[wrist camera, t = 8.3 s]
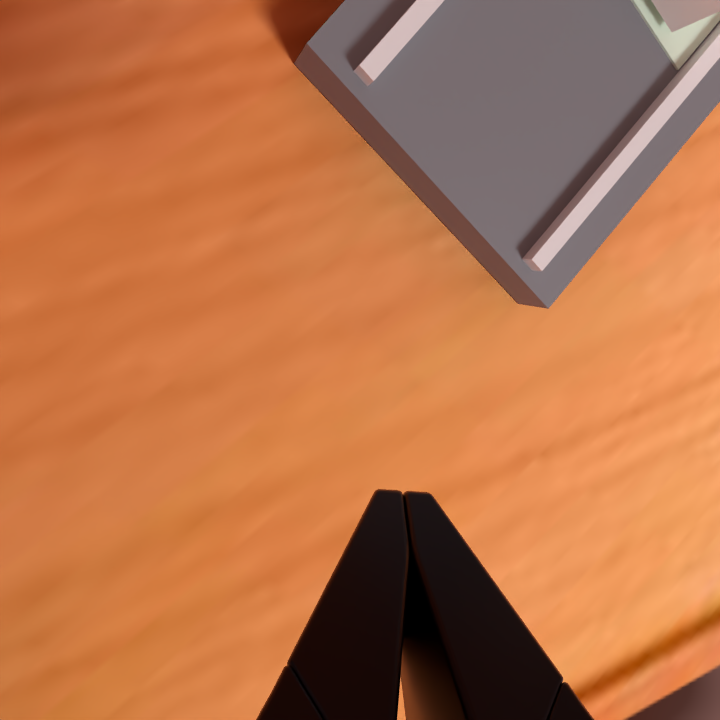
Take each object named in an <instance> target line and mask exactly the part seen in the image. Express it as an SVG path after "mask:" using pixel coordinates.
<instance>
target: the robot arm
mask: <svg viewBox="0 0 720 720" xmlns="http://www.w3.org/2000/svg"><path fill="white" fill-rule="evenodd" d="M400 676H401V682H402V690H403V698H404V707H405V715H406V720H594V719H593V718H592V716H591V715H590V714H589V712H588V711H587V710H586V708H585V707H584V705H583V704H582V703H581V701H580V700H579V699H578V697H577V696H576V694H575V693H574V692H573V690H572V689H571V687H570V686H569V684H568V683H566V682H563V683H562V681H563V677H562V675H561V674H560V672H559V671H558V670H557V668H556V667H555V665H554V664H553V663H552V661H551V660H550V658H549V657H548V656H547V654H546V653H545V651H544V650H543V649H542V647H541V646H540V645H539V643H538V642H537V640H536V639H535V638H534V636H533V635H532V633H531V632H530V631H529V629H528V628H527V626H526V625H525V624H524V622H523V621H522V619H521V618H520V617H519V615H518V614H517V613H516V611H515V610H514V608H513V607H512V606H511V604H510V603H509V601H508V600H507V599H506V597H505V596H504V594H503V593H502V592H501V590H500V589H499V587H498V586H497V585H496V583H495V582H494V581H493V579H492V578H491V576H490V575H489V574H488V572H487V571H486V569H485V568H484V567H483V565H482V564H481V562H480V561H479V560H478V558H477V557H476V555H475V554H474V553H473V551H472V550H471V548H470V547H469V546H468V544H467V543H466V542H465V540H464V539H463V537H462V536H461V535H460V533H459V532H458V530H457V529H456V528H455V526H454V525H453V523H452V522H451V521H450V519H449V518H448V516H447V515H446V514H445V512H444V511H443V510H442V508H441V507H440V505H439V504H438V503H437V501H436V500H435V498H434V497H433V496H432V495H431V494H430V493H427V492H415V491H406V492H405V493H404V494H402V492H401V491H398V490H385V489H378V490H376V491H375V492H374V494H373V496H372V498H371V500H370V502H369V504H368V505H367V507H366V509H365V511H364V513H363V515H362V517H361V519H360V521H359V523H358V525H357V527H356V529H355V531H354V533H353V535H352V537H351V539H350V541H349V543H348V545H347V547H346V548H345V550H344V552H343V554H342V556H341V558H340V560H339V562H338V564H337V566H336V568H335V570H334V572H333V574H332V576H331V578H330V580H329V582H328V584H327V586H326V588H325V589H324V591H323V593H322V595H321V597H320V599H319V601H318V603H317V605H316V607H315V609H314V611H313V613H312V615H311V617H310V619H309V621H308V623H307V625H306V627H305V629H304V630H303V632H302V634H301V636H300V638H299V640H298V642H297V644H296V646H295V648H294V650H293V652H292V654H291V656H290V658H289V660H288V662H287V666H285V667H284V669H283V671H282V673H281V675H280V677H279V679H278V680H277V682H276V684H275V686H274V688H273V690H272V692H271V694H270V696H269V698H268V699H267V701H266V703H265V705H264V707H263V708H262V710H261V712H260V714H259V716H258V717H257V719H256V720H397V712H398V700H399V688H400Z"/></svg>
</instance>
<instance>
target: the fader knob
mask: <svg viewBox="0 0 720 720" xmlns="http://www.w3.org/2000/svg"><path fill="white" fill-rule="evenodd" d="M651 1H652V2H653V4H654V6H655V7H656V9H657V10H658V12H659V13H660V15H661V16H662V18H663V20H664V21H665V23H666V24H667V26H668V27H669V29H670V31H671V32H674V31H676V30H679V29H681V28H683V27H685V26H688V25H690V24H692V23H694V22H697V21H699V20H701V19H704V18H706V17H708V16H710V15H713V14H715V13H717V12H720V0H651Z"/></svg>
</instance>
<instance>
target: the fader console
mask: <svg viewBox="0 0 720 720" xmlns="http://www.w3.org/2000/svg"><path fill="white" fill-rule="evenodd" d="M294 64H295V65H296V66H297V68H298V69H299V70H300V71H301V72H302V73H303V74H304V75H305V76H306V77H307V78H308V79H309V80H310V81H311V83H312V84H313V85H314V86H315V87H316V88H317V89H318V90H319V91H320V92H321V93H322V94H323V95H324V96H325V97H326V99H327V100H328V101H329V102H330V103H331V104H332V105H333V106H334V107H335V108H336V109H337V110H338V111H339V112H340V114H341V115H342V116H343V117H344V118H345V119H346V120H347V121H348V122H349V123H350V124H351V125H352V126H353V127H354V129H355V130H356V131H357V132H358V133H359V134H360V135H361V136H362V137H363V138H364V139H365V140H366V141H367V142H368V144H369V145H370V146H371V147H372V148H373V149H374V150H375V151H376V152H377V153H378V154H379V155H380V156H381V157H382V158H383V160H384V161H385V162H386V163H387V164H388V165H389V166H390V167H391V168H392V169H393V170H394V171H395V172H396V173H397V175H398V176H399V177H400V178H401V179H402V180H403V181H404V182H405V183H406V184H407V185H408V186H409V187H410V188H411V190H412V191H413V192H414V193H415V194H416V195H417V196H418V197H419V198H420V199H421V200H422V201H423V202H424V203H425V205H426V206H427V207H428V208H429V209H430V210H431V211H432V212H433V213H434V214H435V215H436V216H437V217H438V218H439V220H440V221H441V222H442V223H443V224H444V225H445V226H446V227H447V228H448V229H449V230H450V231H451V232H452V233H453V234H454V236H455V237H456V238H457V239H458V240H459V241H460V242H461V243H462V244H463V245H464V246H465V247H466V248H467V249H468V251H469V252H470V253H471V254H472V255H473V256H474V257H475V258H476V259H477V260H478V261H479V262H480V263H481V264H482V266H483V267H484V268H485V269H486V270H487V271H488V272H489V273H490V274H491V275H492V276H493V277H494V278H495V279H496V281H497V282H498V283H499V284H500V285H501V286H502V287H503V288H504V289H505V290H506V291H507V292H508V293H509V294H510V295H511V297H512V298H513V299H514V300H515V301H516V302H517V303H518V304H523V305H529V306H535V307H542V308H549V307H550V306H551V305H552V304H553V302H554V301H555V300H556V299H557V298H558V296H559V295H560V294H561V293H562V292H563V290H564V289H565V288H566V287H567V286H568V284H569V283H570V282H571V281H572V279H573V278H574V277H575V276H576V275H577V273H578V272H579V271H580V270H581V269H582V267H583V266H584V265H585V264H586V263H587V261H588V260H589V259H590V258H591V256H592V255H593V254H594V253H595V252H596V250H597V249H598V248H599V247H600V246H601V244H602V243H603V242H604V241H605V240H606V238H607V237H608V236H609V235H610V233H611V232H612V231H613V230H614V229H615V227H616V226H617V225H618V224H619V223H620V221H621V220H622V219H623V218H624V217H625V215H626V214H627V213H628V212H629V210H630V209H631V208H632V207H633V206H634V204H635V203H636V202H637V201H638V200H639V198H640V197H641V196H642V195H643V194H644V192H645V191H646V190H647V189H648V188H649V186H650V185H651V184H652V183H653V181H654V180H655V179H656V178H657V177H658V175H659V174H660V173H661V172H662V171H663V169H664V168H665V167H666V166H667V165H668V163H669V162H670V161H671V160H672V158H673V157H674V156H675V155H676V154H677V152H678V151H679V150H680V149H681V148H682V146H683V145H684V144H685V143H686V142H687V140H688V139H689V138H690V137H691V135H692V134H693V133H694V132H695V131H696V129H697V128H698V127H699V126H700V125H701V123H702V122H703V121H704V120H705V119H706V117H707V116H708V115H709V114H710V113H711V111H712V110H713V109H714V108H715V106H716V105H717V104H718V103H719V102H720V12H717V13H715V14H713V15H710V16H708V17H706V18H704V19H701V20H699V21H697V22H694V23H692V24H690V25H688V26H685V27H683V28H681V29H679V30H676V31H674V32H671V31H670V29H669V27H668V26H667V24H666V23H665V21H664V20H663V18H662V16H661V15H660V13H659V12H658V10H657V9H656V7H655V6H654V4H653V2H652V1H651V0H345V1H344V2H343V3H342V4H341V5H340V6H339V7H338V9H337V10H336V11H335V12H334V13H333V14H332V15H331V16H330V18H329V19H328V20H327V21H326V22H325V23H324V24H323V25H322V27H321V28H320V29H319V30H318V31H317V32H316V33H315V34H314V36H313V37H312V38H311V39H310V40H309V41H308V42H307V43H306V45H305V47H304V48H303V50H302V51H301V53H300V55H299V56H298V58H297V59H296V61H295V63H294Z"/></svg>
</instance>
